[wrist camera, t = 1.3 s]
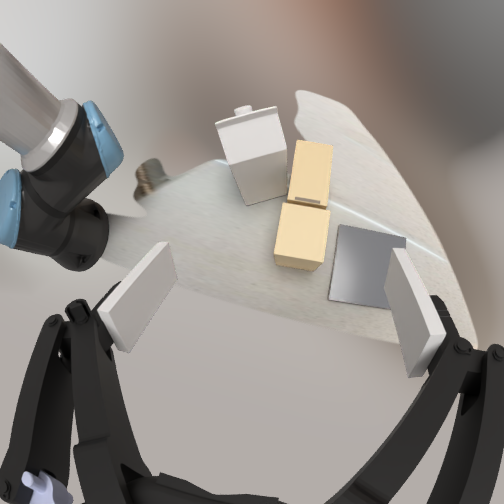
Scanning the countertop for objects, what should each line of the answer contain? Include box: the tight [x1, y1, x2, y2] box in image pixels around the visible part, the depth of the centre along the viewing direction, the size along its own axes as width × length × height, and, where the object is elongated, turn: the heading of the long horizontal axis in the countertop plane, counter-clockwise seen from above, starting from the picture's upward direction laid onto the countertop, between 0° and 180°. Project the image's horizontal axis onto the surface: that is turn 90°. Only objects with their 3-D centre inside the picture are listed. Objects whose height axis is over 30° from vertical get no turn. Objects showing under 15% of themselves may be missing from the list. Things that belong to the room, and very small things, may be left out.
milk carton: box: [215, 105, 287, 206], centre depth 36 cm, size 7×7×19 cm
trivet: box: [328, 224, 406, 309], centre depth 41 cm, size 12×12×1 cm
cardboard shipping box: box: [287, 140, 333, 210], centre depth 39 cm, size 5×9×11 cm, turn 169°
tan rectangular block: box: [274, 203, 330, 271], centre depth 38 cm, size 6×6×11 cm
